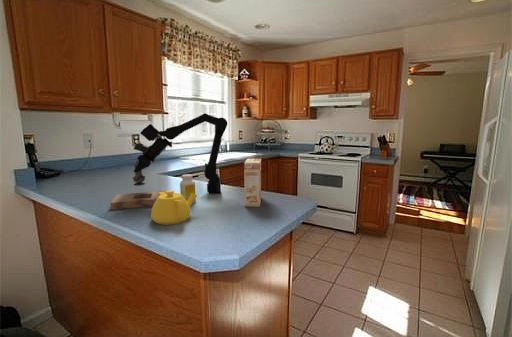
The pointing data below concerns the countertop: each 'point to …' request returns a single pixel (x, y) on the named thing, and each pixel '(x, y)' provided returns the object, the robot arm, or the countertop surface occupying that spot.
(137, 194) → the board
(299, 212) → the countertop surface
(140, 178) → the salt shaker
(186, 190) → the supplement bottle
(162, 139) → the robot arm
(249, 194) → the coffeecake box
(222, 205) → the countertop surface
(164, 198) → the teapot
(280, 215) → the countertop surface
